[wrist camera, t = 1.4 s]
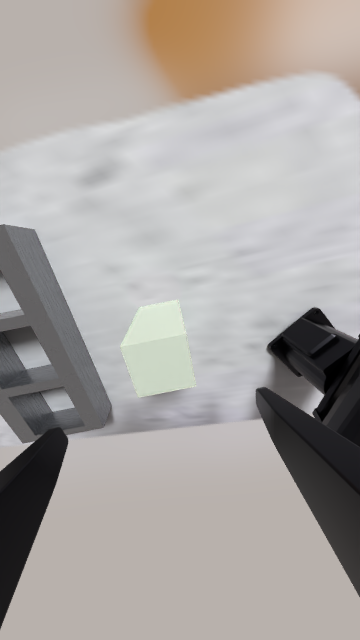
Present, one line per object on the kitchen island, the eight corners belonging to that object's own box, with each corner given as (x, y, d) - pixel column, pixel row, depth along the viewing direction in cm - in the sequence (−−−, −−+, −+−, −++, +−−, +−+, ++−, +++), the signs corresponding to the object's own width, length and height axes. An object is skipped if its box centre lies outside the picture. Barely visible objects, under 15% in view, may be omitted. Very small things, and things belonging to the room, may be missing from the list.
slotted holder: (111, 405, 22) (103, 427, 19) (41, 419, 22) (22, 443, 19) (34, 229, 15) (3, 224, 12) (-71, 250, 15) (-127, 250, 12)
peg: (178, 299, 18) (186, 333, 10) (185, 334, 19) (196, 386, 12) (139, 307, 18) (119, 346, 10) (149, 341, 19) (138, 397, 12)
